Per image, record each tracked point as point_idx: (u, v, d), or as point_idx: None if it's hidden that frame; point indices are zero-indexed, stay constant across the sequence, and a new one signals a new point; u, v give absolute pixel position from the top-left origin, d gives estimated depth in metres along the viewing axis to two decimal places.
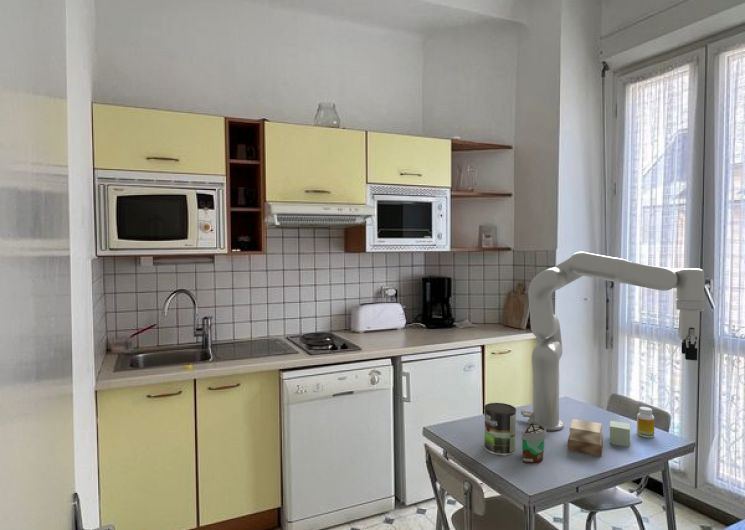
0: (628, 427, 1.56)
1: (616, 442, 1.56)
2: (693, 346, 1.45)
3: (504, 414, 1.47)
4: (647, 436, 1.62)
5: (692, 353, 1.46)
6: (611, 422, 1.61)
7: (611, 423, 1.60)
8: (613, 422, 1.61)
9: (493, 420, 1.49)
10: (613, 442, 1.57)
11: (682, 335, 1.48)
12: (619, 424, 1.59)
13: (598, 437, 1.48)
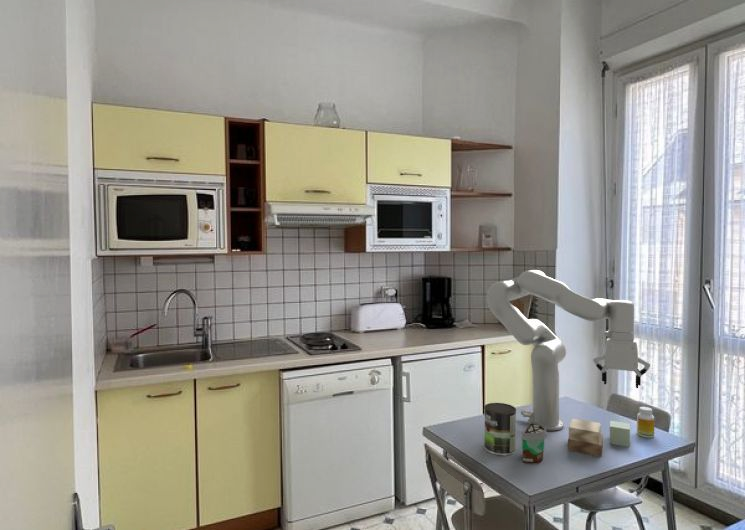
0: (628, 427, 1.56)
1: (616, 442, 1.56)
2: None
3: (504, 414, 1.47)
4: (647, 436, 1.62)
5: None
6: (611, 422, 1.61)
7: (611, 423, 1.60)
8: (613, 422, 1.61)
9: (493, 420, 1.49)
10: (613, 442, 1.57)
11: (637, 366, 1.53)
12: (619, 424, 1.59)
13: (597, 437, 1.48)
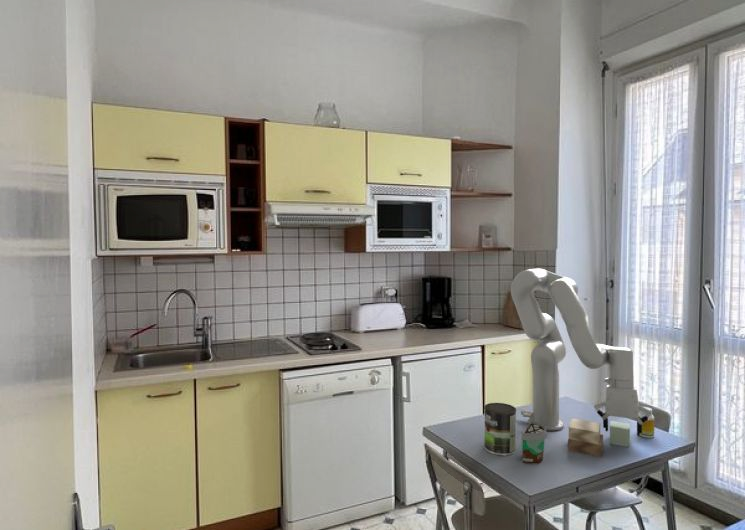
0: (628, 427, 1.56)
1: (616, 442, 1.56)
2: None
3: (504, 414, 1.47)
4: (647, 436, 1.62)
5: (641, 428, 1.55)
6: (611, 422, 1.61)
7: (611, 423, 1.60)
8: (613, 422, 1.61)
9: (493, 420, 1.49)
10: (613, 442, 1.57)
11: (638, 414, 1.53)
12: (619, 424, 1.59)
13: (597, 437, 1.48)
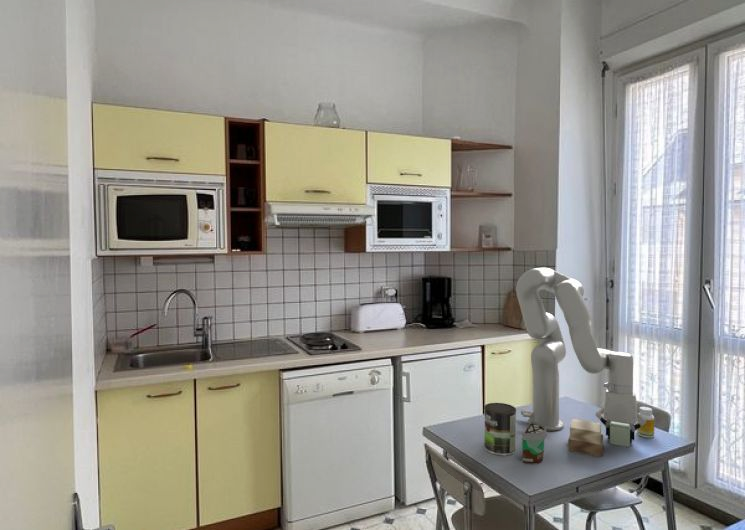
0: (628, 427, 1.56)
1: (616, 442, 1.56)
2: None
3: (504, 414, 1.47)
4: (647, 436, 1.62)
5: None
6: (611, 422, 1.61)
7: (611, 423, 1.60)
8: (613, 422, 1.61)
9: (493, 420, 1.49)
10: (613, 441, 1.57)
11: (636, 419, 1.54)
12: (619, 424, 1.59)
13: (598, 437, 1.48)
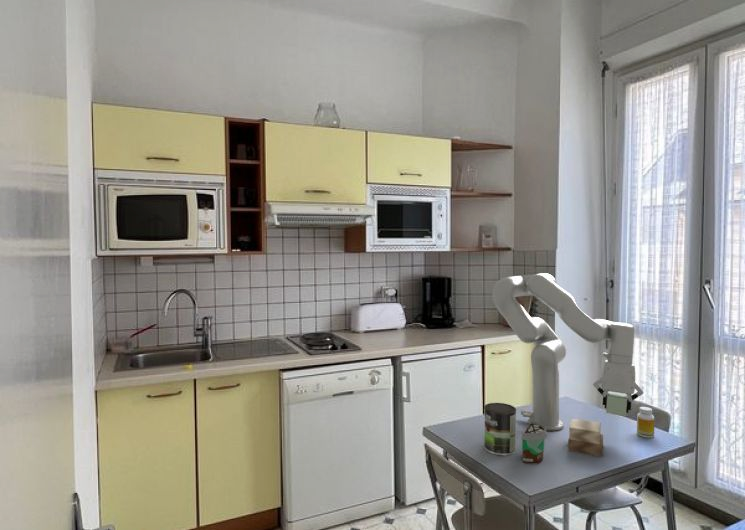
0: (625, 397, 1.56)
1: (612, 411, 1.57)
2: None
3: (504, 414, 1.47)
4: (647, 436, 1.62)
5: (630, 405, 1.57)
6: (608, 392, 1.61)
7: (608, 393, 1.60)
8: (610, 392, 1.61)
9: (493, 420, 1.49)
10: (610, 411, 1.57)
11: (634, 389, 1.54)
12: (616, 394, 1.59)
13: (598, 436, 1.48)
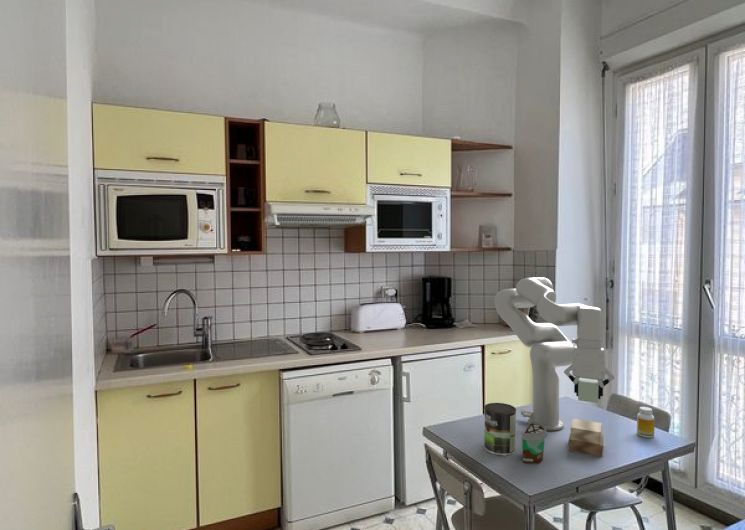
0: (597, 383, 1.51)
1: (584, 399, 1.51)
2: None
3: (504, 414, 1.47)
4: (647, 436, 1.62)
5: (602, 391, 1.52)
6: (580, 379, 1.56)
7: (580, 380, 1.55)
8: (582, 379, 1.56)
9: (493, 420, 1.49)
10: (582, 398, 1.52)
11: (604, 374, 1.49)
12: (587, 381, 1.54)
13: (599, 437, 1.48)
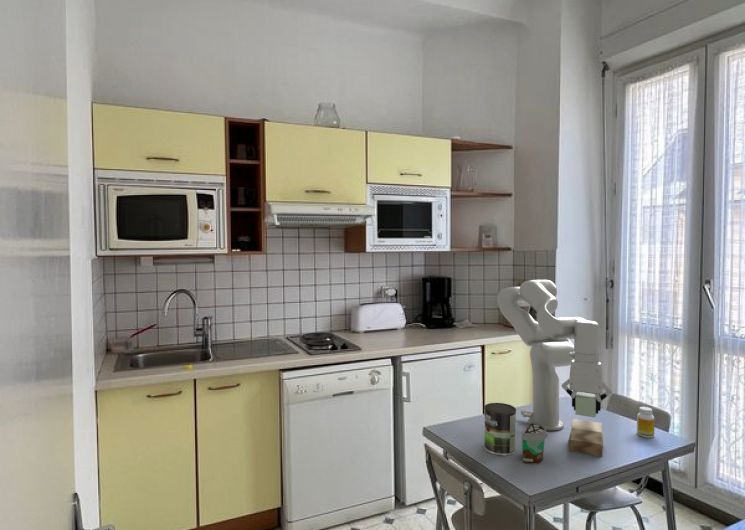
0: (594, 397, 1.51)
1: (581, 413, 1.51)
2: (602, 398, 1.51)
3: (504, 414, 1.47)
4: (647, 436, 1.62)
5: (600, 405, 1.51)
6: (578, 393, 1.56)
7: (577, 394, 1.55)
8: (580, 393, 1.56)
9: (493, 420, 1.49)
10: (579, 412, 1.52)
11: (602, 389, 1.49)
12: (585, 395, 1.53)
13: (600, 437, 1.48)
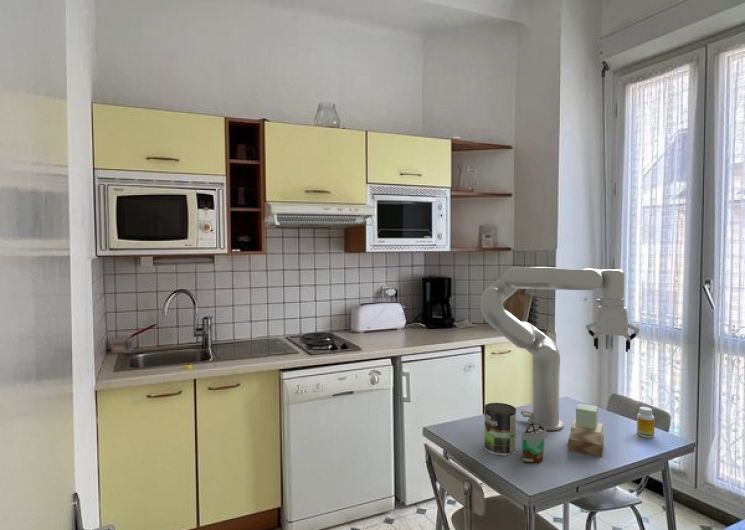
0: (595, 409, 1.51)
1: (582, 425, 1.52)
2: (632, 338, 1.63)
3: (504, 414, 1.47)
4: (647, 436, 1.62)
5: None
6: (579, 405, 1.56)
7: (578, 405, 1.55)
8: (581, 405, 1.56)
9: (493, 420, 1.49)
10: (579, 424, 1.52)
11: (627, 330, 1.61)
12: (586, 407, 1.54)
13: (599, 437, 1.47)
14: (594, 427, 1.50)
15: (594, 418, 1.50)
